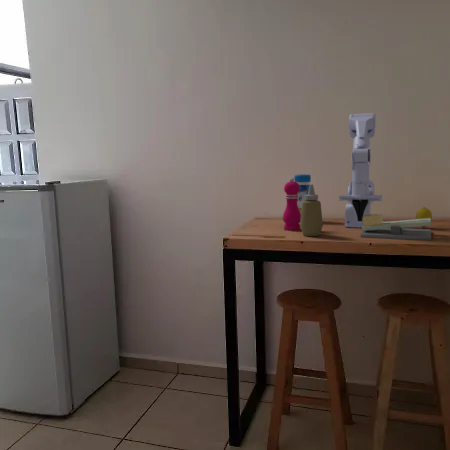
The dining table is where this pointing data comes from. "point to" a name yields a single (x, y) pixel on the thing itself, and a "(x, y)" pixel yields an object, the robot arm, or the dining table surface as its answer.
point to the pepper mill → (292, 206)
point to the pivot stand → (398, 233)
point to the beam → (400, 224)
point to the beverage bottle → (302, 188)
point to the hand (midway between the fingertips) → (359, 220)
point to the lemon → (424, 214)
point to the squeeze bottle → (311, 214)
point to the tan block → (372, 219)
